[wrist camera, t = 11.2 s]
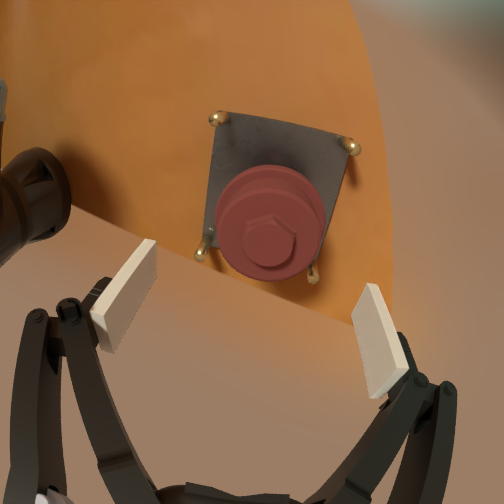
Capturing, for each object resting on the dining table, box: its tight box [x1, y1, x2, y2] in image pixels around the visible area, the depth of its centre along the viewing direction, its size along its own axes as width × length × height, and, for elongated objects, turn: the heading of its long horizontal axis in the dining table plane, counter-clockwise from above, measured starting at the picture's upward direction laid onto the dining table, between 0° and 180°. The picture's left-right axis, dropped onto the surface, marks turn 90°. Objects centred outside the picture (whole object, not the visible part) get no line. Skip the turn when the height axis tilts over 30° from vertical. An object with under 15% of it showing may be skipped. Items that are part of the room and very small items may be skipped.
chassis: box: [194, 111, 361, 284], centre depth 30 cm, size 15×17×4 cm
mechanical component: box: [215, 165, 326, 281], centre depth 26 cm, size 12×10×10 cm
